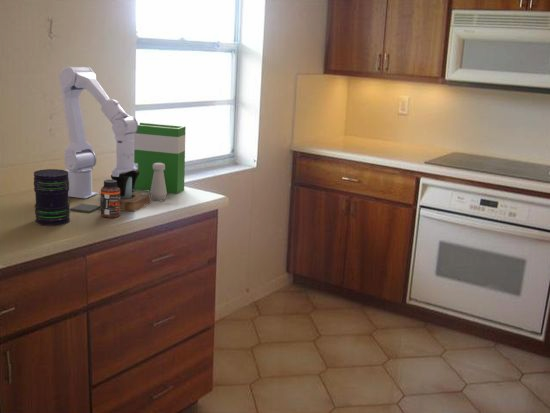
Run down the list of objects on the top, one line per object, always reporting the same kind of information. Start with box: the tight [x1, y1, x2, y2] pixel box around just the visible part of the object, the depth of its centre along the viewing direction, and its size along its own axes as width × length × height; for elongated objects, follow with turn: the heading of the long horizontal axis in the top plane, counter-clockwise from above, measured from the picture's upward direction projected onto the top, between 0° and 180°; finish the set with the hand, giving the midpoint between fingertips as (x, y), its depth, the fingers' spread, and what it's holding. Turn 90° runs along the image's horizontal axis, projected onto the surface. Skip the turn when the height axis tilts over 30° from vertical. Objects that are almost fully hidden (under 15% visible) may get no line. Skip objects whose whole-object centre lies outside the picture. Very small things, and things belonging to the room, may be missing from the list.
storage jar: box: [33, 168, 71, 227], centre depth 183 cm, size 10×10×15 cm
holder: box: [99, 192, 151, 213], centre depth 207 cm, size 12×12×3 cm
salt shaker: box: [149, 163, 168, 202], centre depth 215 cm, size 6×6×13 cm
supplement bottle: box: [100, 179, 121, 219], centre depth 193 cm, size 6×6×11 cm
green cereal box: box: [134, 122, 187, 195], centre depth 228 cm, size 18×7×24 cm, turn 78°
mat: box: [70, 203, 101, 214], centre depth 200 cm, size 7×7×1 cm
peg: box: [120, 177, 133, 199], centre depth 206 cm, size 4×4×9 cm
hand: (125, 193), depth 206 cm, fingers open, 5 cm apart
